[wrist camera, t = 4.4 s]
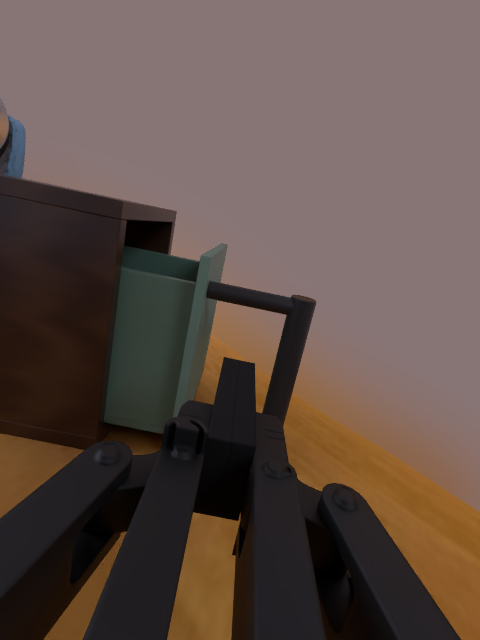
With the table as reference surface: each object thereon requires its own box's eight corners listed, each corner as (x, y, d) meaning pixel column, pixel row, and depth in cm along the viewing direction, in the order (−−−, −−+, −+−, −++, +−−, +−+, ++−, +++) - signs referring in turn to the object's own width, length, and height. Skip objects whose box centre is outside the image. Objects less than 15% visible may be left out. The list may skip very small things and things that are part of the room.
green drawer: (267, 383, 36) (298, 259, 33) (276, 472, 23) (328, 282, 20) (82, 345, 36) (93, 216, 33) (-16, 414, 23) (-14, 209, 19)
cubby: (153, 368, 37) (176, 211, 32) (95, 452, 23) (122, 200, 19) (20, 341, 36) (26, 179, 32) (-118, 409, 23) (-137, 145, 19)
